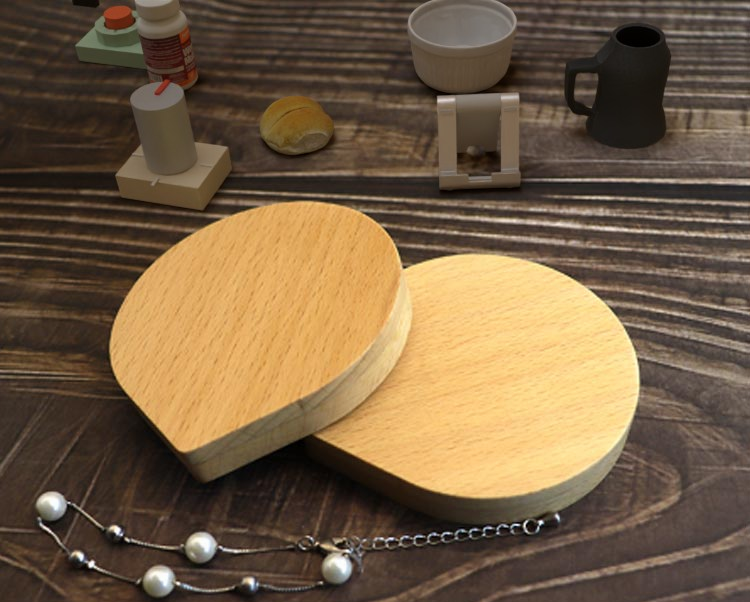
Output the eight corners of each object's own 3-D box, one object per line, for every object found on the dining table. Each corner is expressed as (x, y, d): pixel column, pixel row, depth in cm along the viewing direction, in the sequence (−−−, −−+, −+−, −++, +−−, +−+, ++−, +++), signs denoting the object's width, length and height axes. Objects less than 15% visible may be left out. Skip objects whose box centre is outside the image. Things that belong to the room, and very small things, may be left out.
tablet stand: (439, 194, 110) (439, 126, 104) (437, 152, 115) (436, 86, 109) (519, 190, 109) (523, 123, 103) (513, 149, 115) (517, 82, 109)
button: (101, 29, 132) (98, 17, 131) (114, 17, 135) (111, 4, 133) (126, 32, 131) (123, 20, 130) (139, 19, 134) (136, 7, 132)
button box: (79, 61, 134) (70, 32, 131) (108, 32, 139) (100, 4, 136) (146, 69, 132) (139, 40, 129) (173, 39, 137) (167, 11, 134)
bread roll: (314, 108, 123) (311, 78, 120) (343, 145, 117) (340, 114, 114) (250, 126, 121) (245, 96, 118) (276, 164, 115) (271, 134, 112)
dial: (184, 178, 109) (169, 110, 103) (137, 171, 110) (119, 104, 104) (205, 149, 113) (191, 82, 107) (160, 143, 114) (144, 76, 108)
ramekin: (536, 67, 127) (540, 15, 122) (468, 113, 120) (469, 59, 115) (455, 36, 133) (455, -16, 128) (386, 77, 127) (384, 25, 122)
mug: (654, 101, 120) (668, 11, 112) (675, 144, 114) (693, 52, 105) (553, 110, 120) (560, 20, 112) (569, 154, 113) (578, 62, 105)
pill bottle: (201, 89, 127) (184, 3, 119) (152, 98, 127) (132, 11, 118) (196, 65, 132) (179, -19, 123) (148, 73, 131) (128, -11, 123)
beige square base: (117, 202, 112) (110, 178, 110) (157, 153, 118) (151, 129, 116) (199, 215, 109) (194, 191, 107) (235, 164, 116) (231, 140, 113)
